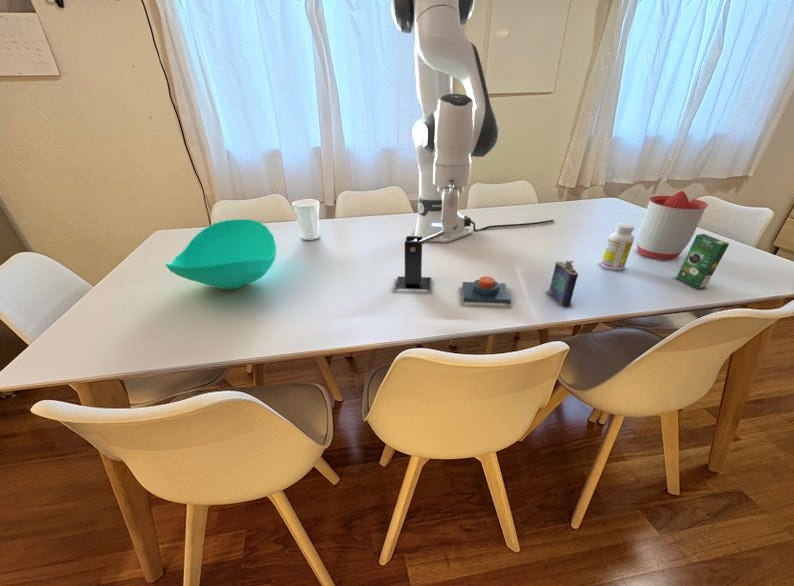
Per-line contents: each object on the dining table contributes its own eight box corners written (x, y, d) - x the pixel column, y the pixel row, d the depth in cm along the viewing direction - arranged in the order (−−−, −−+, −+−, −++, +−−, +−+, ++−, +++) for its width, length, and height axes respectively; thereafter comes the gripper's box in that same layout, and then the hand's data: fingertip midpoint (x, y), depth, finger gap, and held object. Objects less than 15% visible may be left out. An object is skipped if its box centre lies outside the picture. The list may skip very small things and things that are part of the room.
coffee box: (707, 289, 105) (731, 242, 97) (698, 290, 104) (722, 243, 96) (683, 277, 111) (704, 233, 103) (675, 278, 110) (695, 234, 103)
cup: (301, 244, 139) (295, 207, 131) (294, 236, 146) (288, 201, 138) (327, 239, 143) (322, 203, 135) (319, 232, 150) (314, 198, 142)
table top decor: (207, 261, 126) (194, 221, 119) (290, 257, 128) (282, 217, 121) (158, 319, 95) (135, 270, 87) (269, 313, 97) (257, 264, 89)
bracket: (430, 281, 111) (432, 234, 103) (429, 293, 105) (431, 244, 97) (397, 280, 112) (396, 233, 104) (394, 291, 106) (393, 243, 97)
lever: (451, 231, 100) (448, 222, 99) (452, 237, 96) (448, 228, 95) (411, 248, 104) (407, 240, 103) (410, 254, 100) (406, 246, 99)
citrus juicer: (689, 252, 127) (718, 189, 116) (677, 266, 117) (707, 199, 106) (640, 242, 136) (662, 182, 124) (624, 255, 126) (646, 191, 114)
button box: (504, 290, 106) (506, 277, 103) (509, 307, 98) (511, 293, 95) (461, 289, 107) (463, 275, 104) (463, 305, 99) (464, 291, 96)
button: (493, 282, 101) (493, 276, 100) (494, 289, 98) (495, 282, 97) (478, 282, 102) (478, 276, 101) (479, 288, 98) (479, 282, 97)
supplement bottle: (622, 264, 120) (636, 223, 112) (624, 272, 115) (640, 229, 107) (599, 261, 122) (612, 221, 114) (601, 269, 117) (614, 227, 109)
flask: (546, 291, 104) (555, 254, 98) (556, 291, 105) (566, 254, 98) (562, 307, 97) (573, 268, 91) (573, 306, 97) (585, 267, 91)
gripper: (466, 186, 82) (460, 248, 90) (463, 169, 98) (458, 222, 106) (437, 185, 82) (434, 247, 90) (439, 169, 99) (436, 222, 107)
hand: (447, 233), depth 99 cm, fingers closed on lever, 5 cm apart
